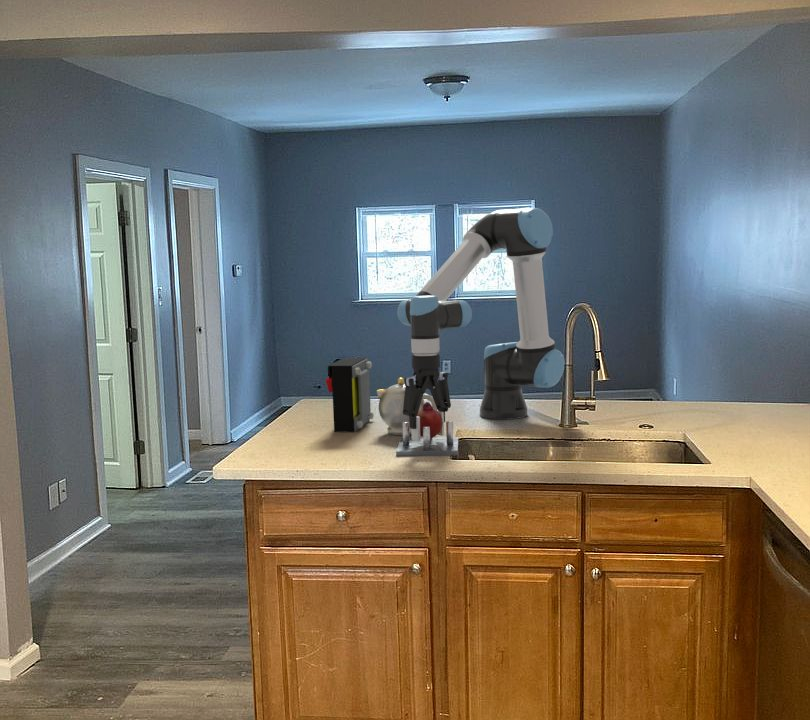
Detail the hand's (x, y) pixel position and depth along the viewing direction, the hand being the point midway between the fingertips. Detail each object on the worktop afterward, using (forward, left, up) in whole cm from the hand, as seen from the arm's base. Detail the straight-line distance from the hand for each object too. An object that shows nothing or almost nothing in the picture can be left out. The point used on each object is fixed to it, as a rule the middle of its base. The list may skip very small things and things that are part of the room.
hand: (428, 437), depth 228 cm
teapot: (+7, -20, -3) cm, 21 cm away
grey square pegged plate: (0, 0, -3) cm, 3 cm away
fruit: (0, 0, -1) cm, 1 cm away
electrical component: (+25, -31, -3) cm, 40 cm away
